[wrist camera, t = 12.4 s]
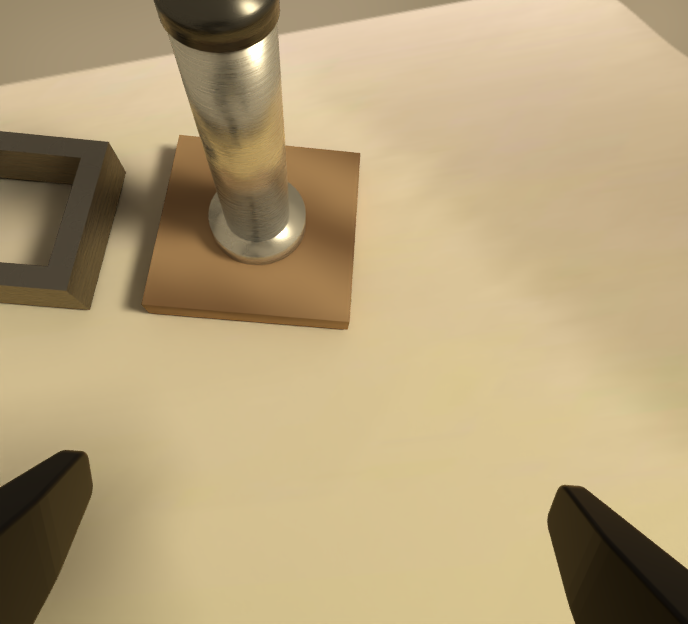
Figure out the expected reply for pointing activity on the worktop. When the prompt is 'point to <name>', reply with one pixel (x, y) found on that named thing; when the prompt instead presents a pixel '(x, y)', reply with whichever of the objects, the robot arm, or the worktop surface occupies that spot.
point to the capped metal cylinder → (239, 121)
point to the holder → (64, 216)
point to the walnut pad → (257, 280)
